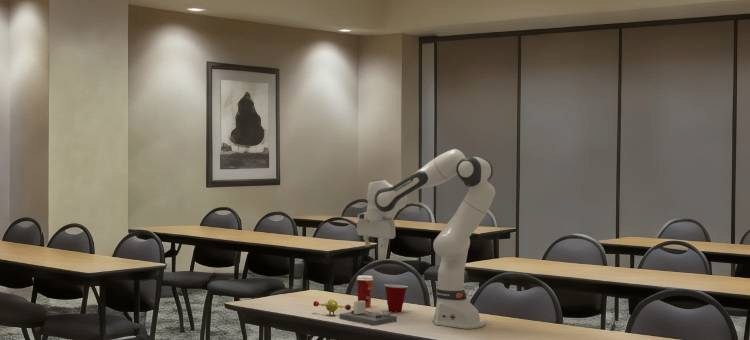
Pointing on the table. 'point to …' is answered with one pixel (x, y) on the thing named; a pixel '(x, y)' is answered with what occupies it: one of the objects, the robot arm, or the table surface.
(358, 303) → the block
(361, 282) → the paper cup
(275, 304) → the table surface
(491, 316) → the table surface
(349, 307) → the toy figure
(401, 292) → the plastic cup
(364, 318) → the console
